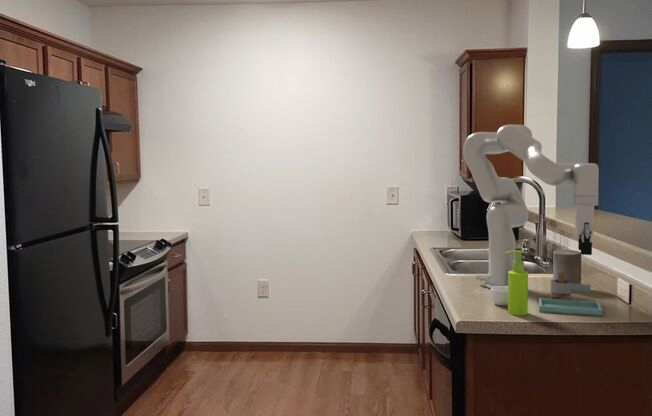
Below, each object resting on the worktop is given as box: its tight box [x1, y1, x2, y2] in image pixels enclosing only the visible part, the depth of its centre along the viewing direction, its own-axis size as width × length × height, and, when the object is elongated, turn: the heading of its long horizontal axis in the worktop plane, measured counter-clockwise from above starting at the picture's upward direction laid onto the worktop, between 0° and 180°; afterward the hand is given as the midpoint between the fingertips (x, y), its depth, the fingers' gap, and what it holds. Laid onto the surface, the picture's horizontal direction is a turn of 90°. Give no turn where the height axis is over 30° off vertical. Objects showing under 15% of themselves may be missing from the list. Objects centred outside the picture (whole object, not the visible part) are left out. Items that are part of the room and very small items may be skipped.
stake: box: [547, 269, 574, 300], centre depth 191 cm, size 8×8×11 cm
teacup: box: [490, 286, 508, 307], centre depth 191 cm, size 10×8×5 cm
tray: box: [538, 297, 603, 317], centre depth 182 cm, size 18×10×2 cm, turn 70°
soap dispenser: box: [505, 249, 529, 317], centre depth 178 cm, size 6×7×20 cm
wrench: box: [550, 279, 592, 294], centre depth 190 cm, size 12×6×4 cm, turn 70°
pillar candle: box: [552, 248, 582, 283], centre depth 210 cm, size 10×10×15 cm
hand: (584, 252), depth 188 cm, fingers open, 9 cm apart
